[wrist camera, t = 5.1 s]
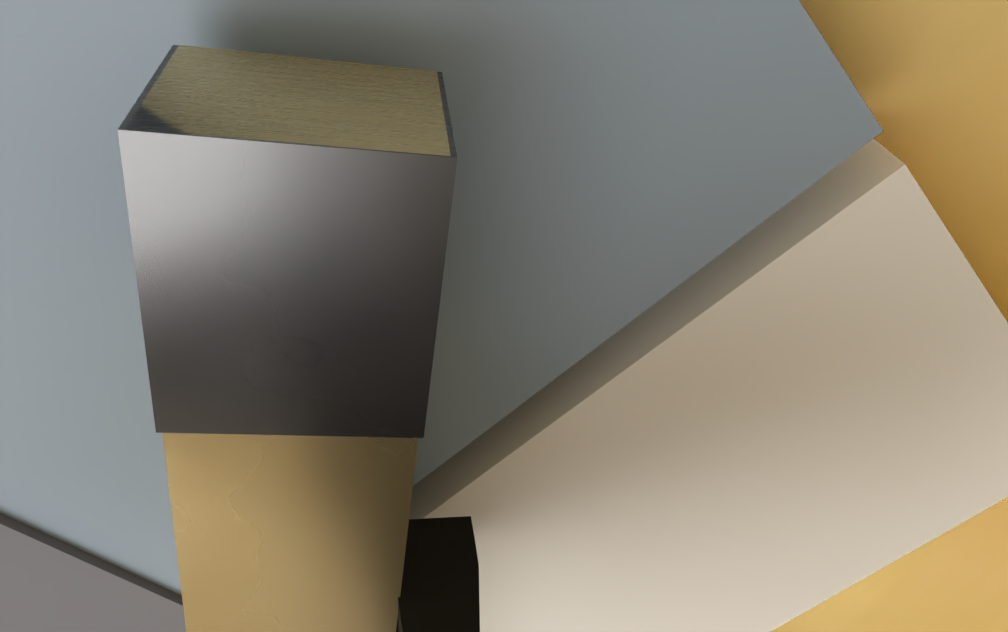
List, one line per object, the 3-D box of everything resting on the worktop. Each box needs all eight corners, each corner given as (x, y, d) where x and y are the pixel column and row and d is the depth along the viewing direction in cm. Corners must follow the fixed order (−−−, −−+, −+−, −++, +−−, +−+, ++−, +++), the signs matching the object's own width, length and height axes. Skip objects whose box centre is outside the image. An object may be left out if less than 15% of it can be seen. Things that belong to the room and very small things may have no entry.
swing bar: (387, 785, 16) (388, 930, 14) (214, 795, 15) (191, 947, 14) (476, 74, 8) (506, 182, 6) (133, 40, 8) (49, 146, 6)
